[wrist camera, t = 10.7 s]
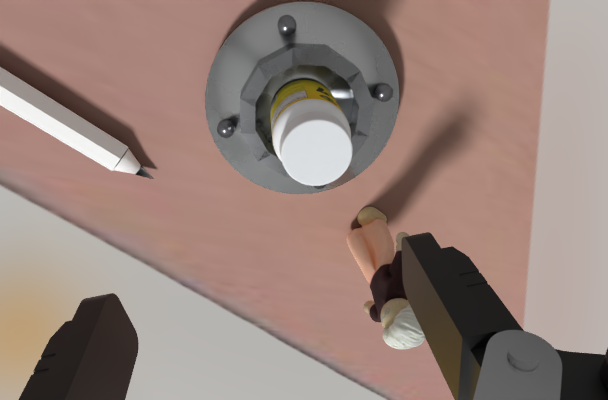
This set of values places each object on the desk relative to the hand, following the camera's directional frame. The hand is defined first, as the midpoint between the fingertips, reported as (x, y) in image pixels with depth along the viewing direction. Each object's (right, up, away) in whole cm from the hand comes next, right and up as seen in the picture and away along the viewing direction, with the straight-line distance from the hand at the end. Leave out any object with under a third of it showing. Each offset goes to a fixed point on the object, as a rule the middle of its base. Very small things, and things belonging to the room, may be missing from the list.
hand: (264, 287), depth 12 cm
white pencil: (-17, +9, +18) cm, 26 cm away
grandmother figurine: (+7, 0, +26) cm, 27 cm away
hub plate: (+1, +10, +19) cm, 22 cm away
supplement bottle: (+1, +9, +18) cm, 21 cm away
